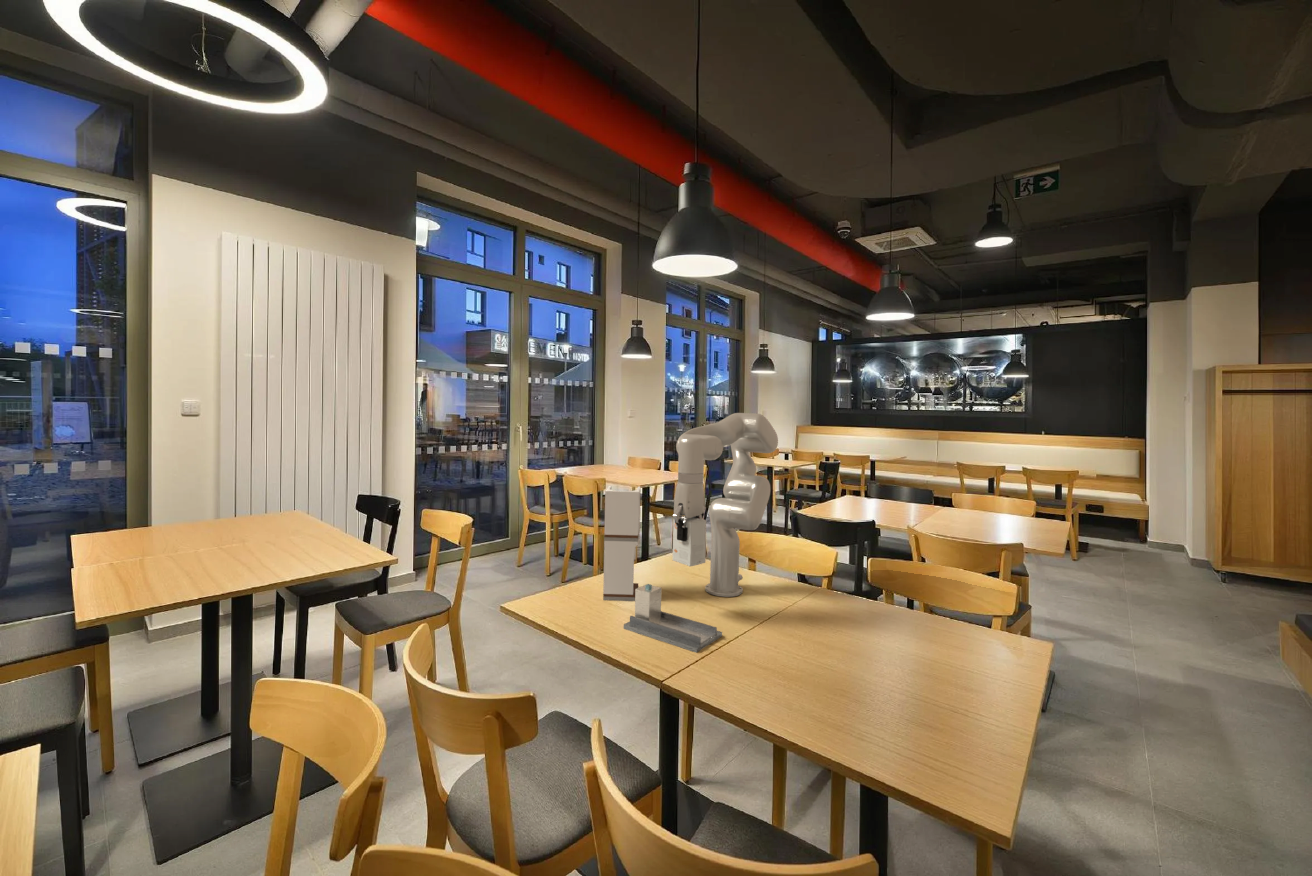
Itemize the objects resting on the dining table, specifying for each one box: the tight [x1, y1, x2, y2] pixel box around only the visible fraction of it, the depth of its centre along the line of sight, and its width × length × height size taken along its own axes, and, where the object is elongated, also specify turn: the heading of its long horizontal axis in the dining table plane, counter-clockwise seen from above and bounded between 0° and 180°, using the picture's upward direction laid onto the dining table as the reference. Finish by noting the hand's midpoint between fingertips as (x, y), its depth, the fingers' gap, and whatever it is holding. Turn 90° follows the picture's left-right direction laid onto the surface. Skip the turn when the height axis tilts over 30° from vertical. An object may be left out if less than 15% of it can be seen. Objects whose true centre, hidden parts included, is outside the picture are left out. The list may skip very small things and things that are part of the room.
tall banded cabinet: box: [602, 485, 642, 602], centre depth 183 cm, size 11×11×35 cm
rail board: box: [623, 583, 723, 654], centre depth 154 cm, size 13×24×12 cm, turn 54°
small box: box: [672, 515, 707, 567], centre depth 166 cm, size 8×6×13 cm
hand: (689, 537), depth 166 cm, fingers closed on small box, 7 cm apart
